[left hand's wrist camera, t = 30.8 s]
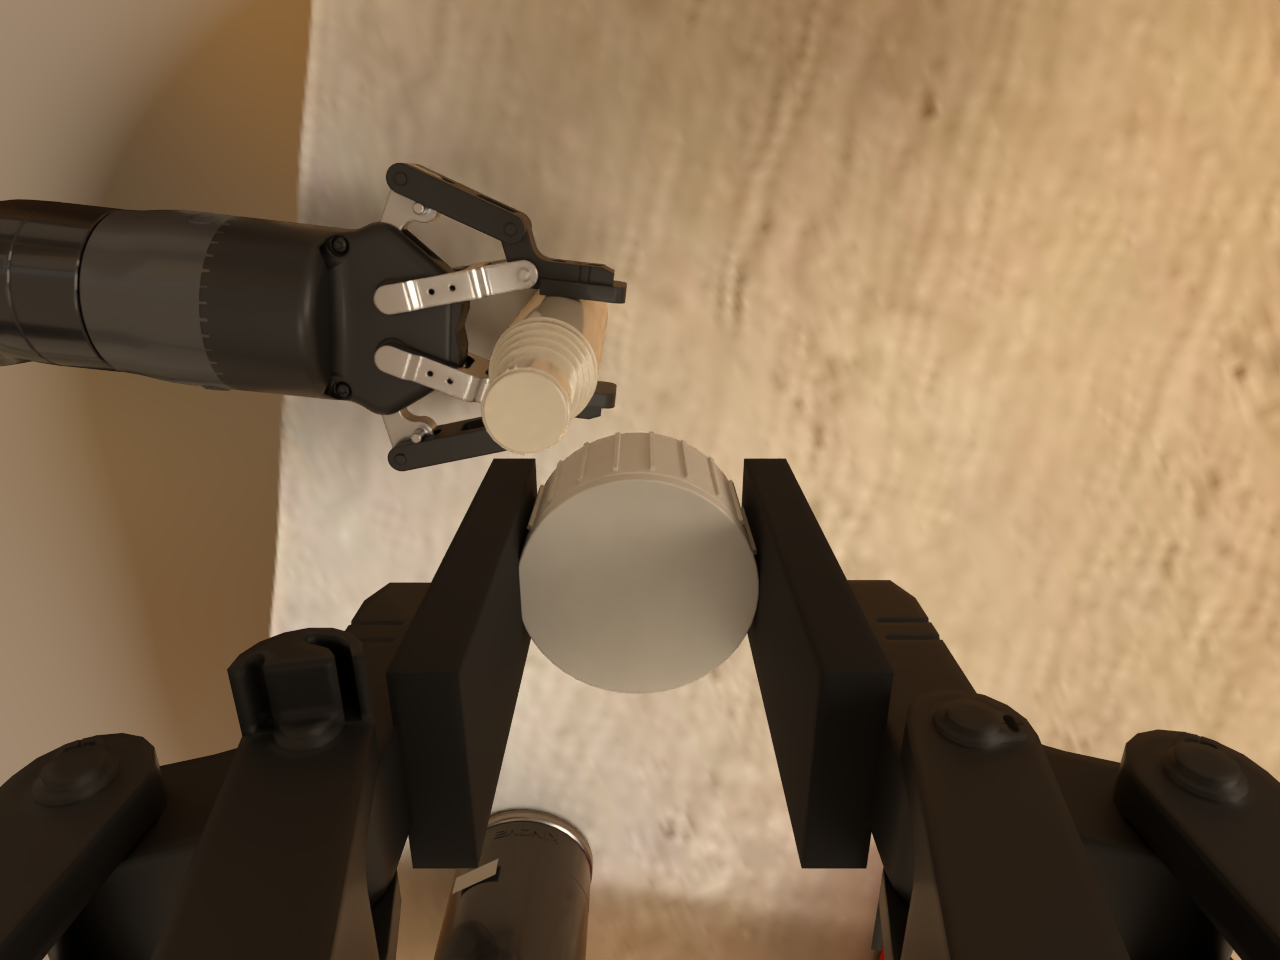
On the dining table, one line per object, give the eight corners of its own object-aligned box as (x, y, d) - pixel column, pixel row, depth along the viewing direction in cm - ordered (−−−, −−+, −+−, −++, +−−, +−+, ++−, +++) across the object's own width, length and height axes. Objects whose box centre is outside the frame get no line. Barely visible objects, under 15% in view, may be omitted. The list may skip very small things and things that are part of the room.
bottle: (538, 267, 41) (470, 334, 23) (614, 285, 41) (604, 365, 24) (524, 342, 42) (450, 460, 25) (598, 359, 43) (576, 487, 25)
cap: (547, 631, 15) (532, 706, 13) (514, 439, 14) (491, 489, 12) (749, 613, 15) (767, 687, 13) (738, 417, 14) (756, 463, 12)
